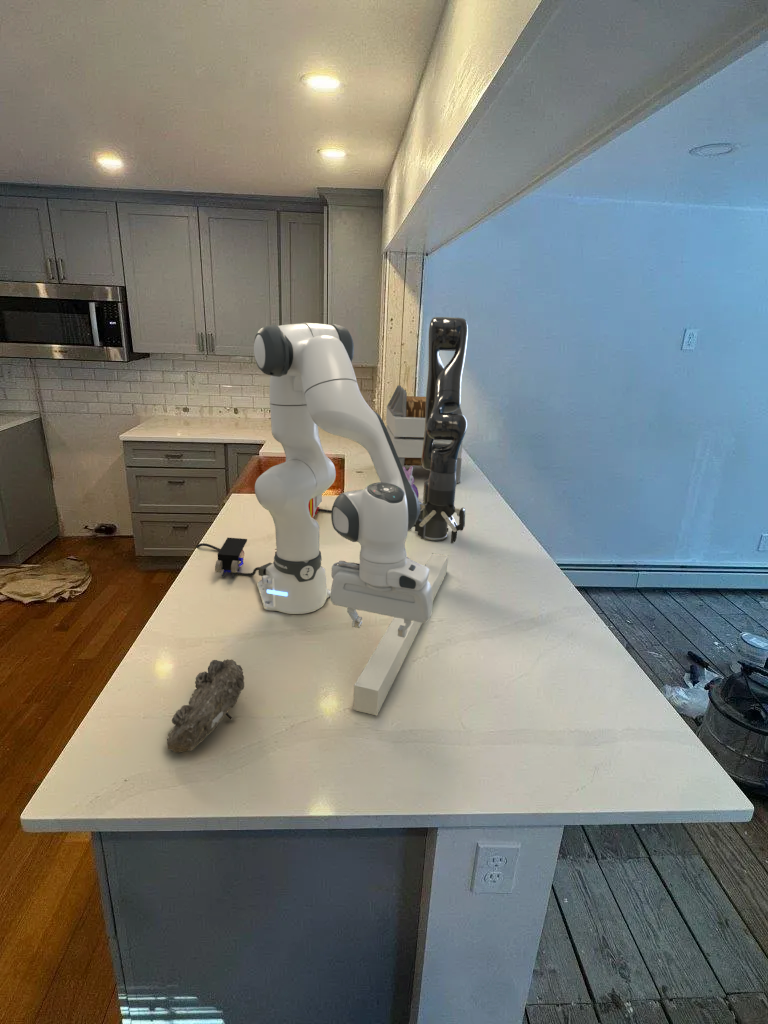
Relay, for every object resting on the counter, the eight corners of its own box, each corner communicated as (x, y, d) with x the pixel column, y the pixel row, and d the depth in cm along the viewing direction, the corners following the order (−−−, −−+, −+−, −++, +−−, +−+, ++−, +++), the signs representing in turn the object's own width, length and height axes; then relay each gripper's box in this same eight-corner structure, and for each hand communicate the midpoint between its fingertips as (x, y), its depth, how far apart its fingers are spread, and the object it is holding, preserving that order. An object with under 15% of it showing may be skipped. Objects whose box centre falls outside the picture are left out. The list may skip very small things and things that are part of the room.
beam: (430, 570, 173) (432, 552, 171) (446, 573, 172) (448, 555, 170) (353, 710, 112) (353, 685, 110) (377, 715, 110) (378, 690, 108)
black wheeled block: (238, 584, 162) (249, 557, 175) (236, 562, 158) (247, 536, 172) (215, 584, 161) (227, 556, 175) (212, 561, 158) (225, 535, 171)
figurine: (404, 507, 227) (406, 470, 222) (392, 499, 235) (393, 464, 230) (424, 504, 231) (426, 468, 226) (411, 496, 239) (413, 462, 234)
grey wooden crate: (382, 463, 289) (386, 382, 275) (445, 464, 293) (451, 384, 279) (390, 482, 257) (394, 392, 243) (460, 483, 261) (468, 394, 247)
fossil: (192, 660, 117) (244, 628, 112) (224, 691, 120) (276, 661, 115) (142, 746, 98) (202, 712, 93) (182, 779, 101) (242, 748, 96)
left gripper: (325, 565, 108) (324, 628, 113) (429, 584, 103) (424, 649, 107) (337, 553, 114) (336, 613, 119) (437, 570, 108) (432, 632, 113)
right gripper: (413, 486, 154) (410, 541, 160) (465, 493, 150) (460, 549, 156) (420, 479, 161) (416, 532, 166) (469, 485, 157) (464, 539, 163)
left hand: (379, 630), depth 113 cm, fingers open, 8 cm apart
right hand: (437, 540), depth 161 cm, fingers open, 8 cm apart
